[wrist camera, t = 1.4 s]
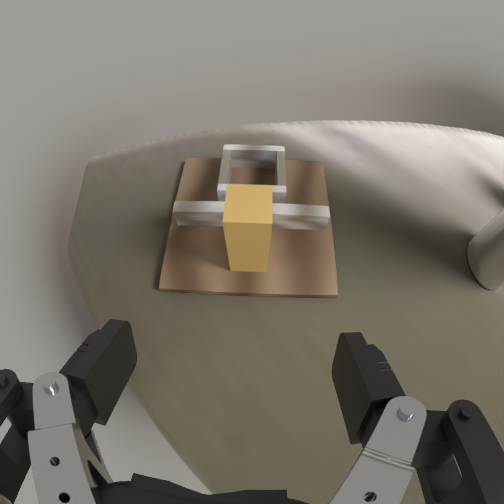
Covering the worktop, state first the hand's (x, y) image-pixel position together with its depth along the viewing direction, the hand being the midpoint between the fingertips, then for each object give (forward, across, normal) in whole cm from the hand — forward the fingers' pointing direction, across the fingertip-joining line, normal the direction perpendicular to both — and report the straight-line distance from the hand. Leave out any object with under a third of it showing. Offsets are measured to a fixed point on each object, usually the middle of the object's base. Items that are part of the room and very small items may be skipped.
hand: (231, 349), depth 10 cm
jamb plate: (+27, 0, +1) cm, 27 cm away
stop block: (+22, 0, +4) cm, 23 cm away
